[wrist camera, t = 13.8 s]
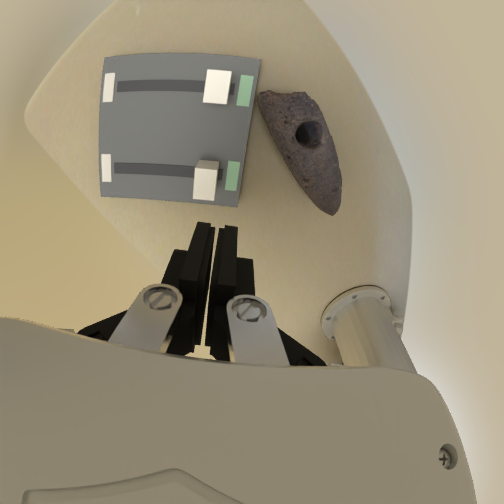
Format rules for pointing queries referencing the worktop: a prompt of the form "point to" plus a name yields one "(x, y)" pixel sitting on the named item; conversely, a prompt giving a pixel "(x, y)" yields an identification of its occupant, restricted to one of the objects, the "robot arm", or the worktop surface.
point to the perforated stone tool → (304, 145)
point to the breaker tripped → (217, 86)
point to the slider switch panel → (172, 125)
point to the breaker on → (205, 180)
